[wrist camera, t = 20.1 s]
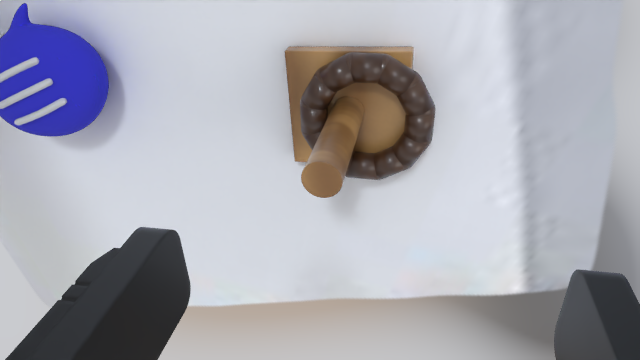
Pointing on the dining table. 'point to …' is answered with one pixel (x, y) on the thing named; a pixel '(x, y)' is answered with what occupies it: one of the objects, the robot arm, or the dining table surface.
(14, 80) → the decorative object
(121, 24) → the dining table surface
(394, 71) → the ring
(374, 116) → the post
